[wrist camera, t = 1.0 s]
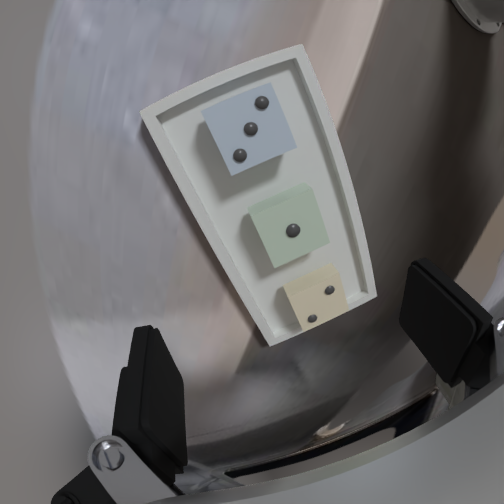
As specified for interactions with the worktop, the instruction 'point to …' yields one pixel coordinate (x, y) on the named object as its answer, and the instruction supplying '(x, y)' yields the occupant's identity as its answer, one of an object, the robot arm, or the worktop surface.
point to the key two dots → (317, 296)
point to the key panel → (265, 185)
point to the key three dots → (249, 128)
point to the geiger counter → (451, 392)
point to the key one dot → (289, 224)
